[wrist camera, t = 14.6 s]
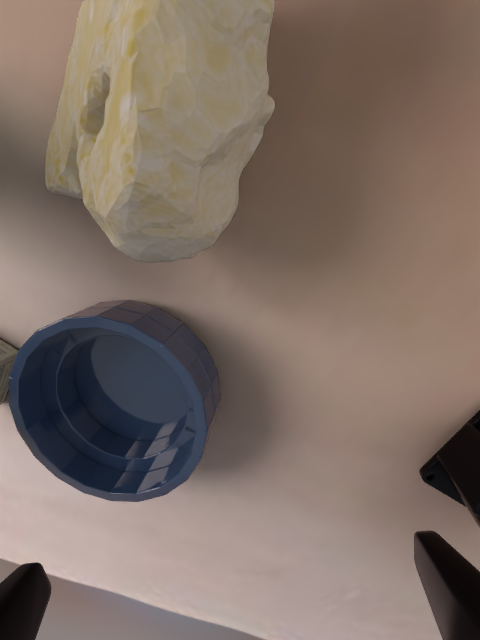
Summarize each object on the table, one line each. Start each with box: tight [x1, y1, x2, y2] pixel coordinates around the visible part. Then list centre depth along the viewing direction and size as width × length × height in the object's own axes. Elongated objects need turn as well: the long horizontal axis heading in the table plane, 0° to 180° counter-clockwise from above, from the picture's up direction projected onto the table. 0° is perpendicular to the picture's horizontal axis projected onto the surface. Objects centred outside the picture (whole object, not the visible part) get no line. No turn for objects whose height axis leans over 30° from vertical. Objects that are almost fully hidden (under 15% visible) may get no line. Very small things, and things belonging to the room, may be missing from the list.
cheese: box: [45, 0, 275, 263], centre depth 13 cm, size 15×7×15 cm
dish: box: [9, 300, 220, 502], centre depth 19 cm, size 11×11×4 cm
